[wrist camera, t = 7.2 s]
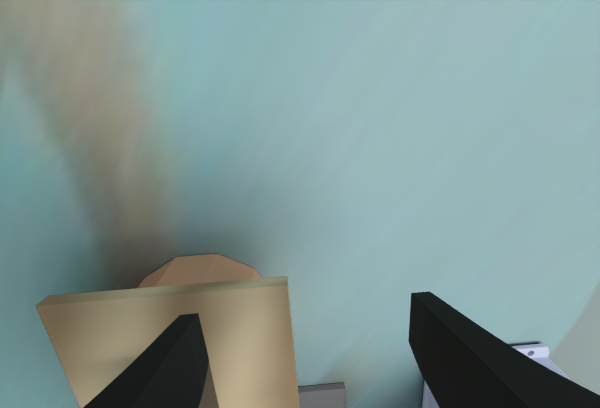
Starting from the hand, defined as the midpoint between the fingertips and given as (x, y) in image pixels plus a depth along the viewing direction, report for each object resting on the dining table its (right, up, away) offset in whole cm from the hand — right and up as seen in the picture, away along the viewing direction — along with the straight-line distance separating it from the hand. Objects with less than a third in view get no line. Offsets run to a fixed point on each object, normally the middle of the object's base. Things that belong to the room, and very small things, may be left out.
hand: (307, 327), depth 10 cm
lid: (-7, -6, +7) cm, 11 cm away
